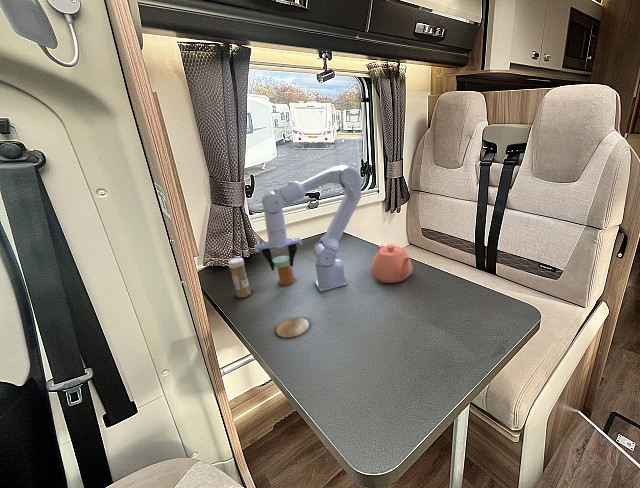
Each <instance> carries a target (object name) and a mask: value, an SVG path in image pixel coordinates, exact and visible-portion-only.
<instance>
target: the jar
mask: <svg viewBox="0 0 640 488" xmlns="http://www.w3.org/2000/svg"><path fill="white" fill-rule="evenodd" d="M276 270H277V274H278V279H279V285H282V286H289V285H291V284H293V283H294V282H295V281H296V279H295V275H294V269H293V267H291V266H290V265H288V266H286V267H282V268H277V269H276Z"/></svg>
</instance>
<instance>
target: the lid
mask: <svg viewBox="0 0 640 488" xmlns="http://www.w3.org/2000/svg"><path fill="white" fill-rule="evenodd" d="M272 263H273V266H274V268H282V267H286V266H288V265H290V257H289V255H279V256H275V257H273V258H272Z"/></svg>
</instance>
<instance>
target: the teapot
mask: <svg viewBox="0 0 640 488" xmlns="http://www.w3.org/2000/svg"><path fill="white" fill-rule="evenodd" d="M370 272H371V274H372V276H373V277H374V278H375V279H376V280H378V281H380V282H382V283H387V284H396V283H401V282H403V281H405V280H407V279H408V278H409V277H410V276H411V274H412V273H413V263H412V260H411V256H409V255H408V253H407V252H406V250H405V249H404V248H402V247H401V246H399V245H395V244H387V245H386V246H385V245H384V244H380V245H378V246H377V251H376V254H375V255H374V257H373V260H372V261H371V266H370Z"/></svg>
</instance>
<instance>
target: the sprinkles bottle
mask: <svg viewBox="0 0 640 488" xmlns="http://www.w3.org/2000/svg"><path fill="white" fill-rule="evenodd" d="M227 263H228V267H229V269H230V273H231V278H232V281H233V286H234V289H235V291H236V297H237V298H242V299H243V298H246V297H248V296H250V295H251V294H252V291H251V288H250V284H249V279H248V275H247V272H246V268H245V261H244V258H242V257H233V258H231V259H230V260H228V262H227Z"/></svg>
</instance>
